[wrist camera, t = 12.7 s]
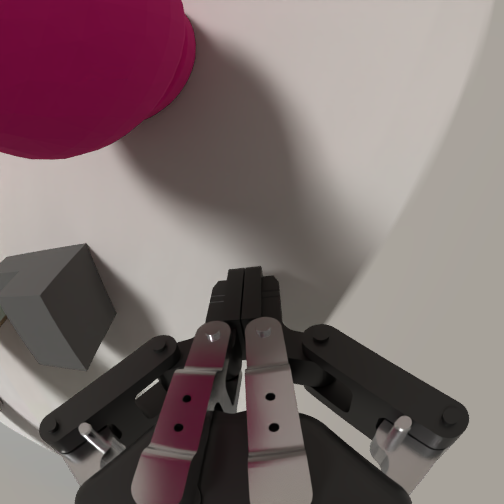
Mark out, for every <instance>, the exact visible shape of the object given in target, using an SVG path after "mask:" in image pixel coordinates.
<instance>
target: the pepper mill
mask: <svg viewBox="0 0 504 504" xmlns="http://www.w3.org/2000/svg"><path fill="white" fill-rule="evenodd" d="M195 50H196V42H195V36H194V31H193V28H192V25H191V23H190V21H189V19H188V18H187V16H186V15H185V14H184V9H183V4H182V1H181V0H0V152H2V153H6V154H10V155H14V156H18V157H23V158H28V159H66V158H70V157H74V156H78V155H81V154H85V153H88V152H92V151H95V150H98V149H101V148H103V147H105V146H108V145H110V144H112V143H114V142H115V141H117V140H118V139H120V138H122V137H123V136H125V135H126V134H127V133H129V132H130V131H131V130H132V129H134V128H135V127H136V126H137V125H139V124H140V123H141V122H142V121H143V120H145V119H147V118H149V117H152V116H153V115H155V114H157V113H158V112H160V111H161V110H162V109H164V108H165V107H166V106H168V105H169V104H170V103H171V102H172V101H173V100H174V99H175V98H176V96H177V95H178V94H179V93H180V92H181V90H182V89H183V87H184V86H185V84H186V82H187V80H188V78H189V76H190V74H191V71H192V69H193V65H194V60H195Z"/></svg>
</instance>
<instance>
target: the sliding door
mask: <svg viewBox="0 0 504 504" xmlns="http://www.w3.org/2000/svg"><path fill="white" fill-rule="evenodd" d="M5 315H6V314H5V312H4V311H3V309H2V307H1V305H0V321H1V320H2V319H3V317H4V316H5Z"/></svg>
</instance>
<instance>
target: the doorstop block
mask: <svg viewBox="0 0 504 504" xmlns="http://www.w3.org/2000/svg"><path fill="white" fill-rule="evenodd" d="M0 305H1V307H2V309H3V311H4V312H5V314H6V316H7V317H8V319H9V320H10V322H11V324H12V325H13V327H14V328H15V330H16V331H17V333H18V335H19V336H20V338H21V339H22V341H23V342H24V343H25V345H26V346H27V348H28V349H29V351H30V352H31V353H32V355H33V356H34V358H35V359H36V360H37V362H38V363H39V364H42V365H48V366H54V367H60V368H67V369H75V370H82V371H87V370H88V368H89V366H90V364H91V362H92V360H93V358H94V356H95V354H96V352H97V350H98V348H99V346H100V344H101V342H102V340H103V338H104V336H105V334H106V332H107V330H108V328H109V326H110V325H111V323H112V321H113V319H114V317H115V315H116V311H115V309H114V307H113V305H112V303H111V301H110V299H109V296H108V294H107V292H106V290H105V288H104V285H103V283H102V281H101V279H100V276H99V274H98V272H97V269H96V267H95V264H94V262H93V259H92V257H91V254H90V252H89V249H88V247H87V244H86V243H85V244H79V245H73V246H66V247H60V248H55V249H49V250H43V251H37V252H31V253H26V254H20V255H15V256H10V257H6V258H5V259H4V260H3V261H2V262H1V263H0Z"/></svg>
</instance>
